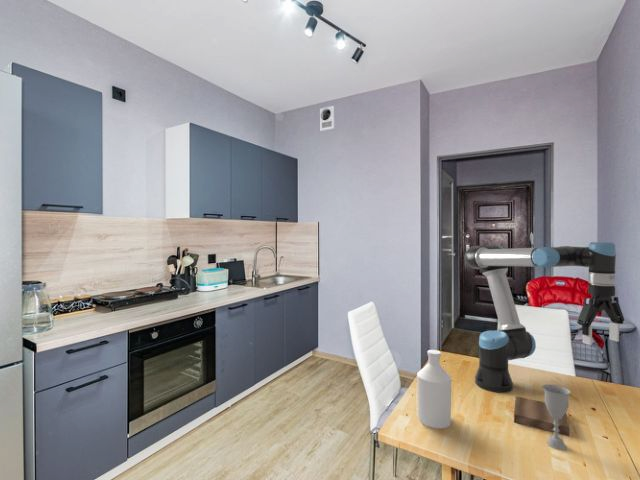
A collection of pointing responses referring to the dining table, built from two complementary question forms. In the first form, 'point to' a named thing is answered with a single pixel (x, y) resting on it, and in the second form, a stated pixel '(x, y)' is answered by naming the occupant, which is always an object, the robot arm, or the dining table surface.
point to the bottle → (434, 393)
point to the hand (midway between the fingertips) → (600, 342)
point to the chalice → (556, 411)
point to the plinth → (537, 416)
